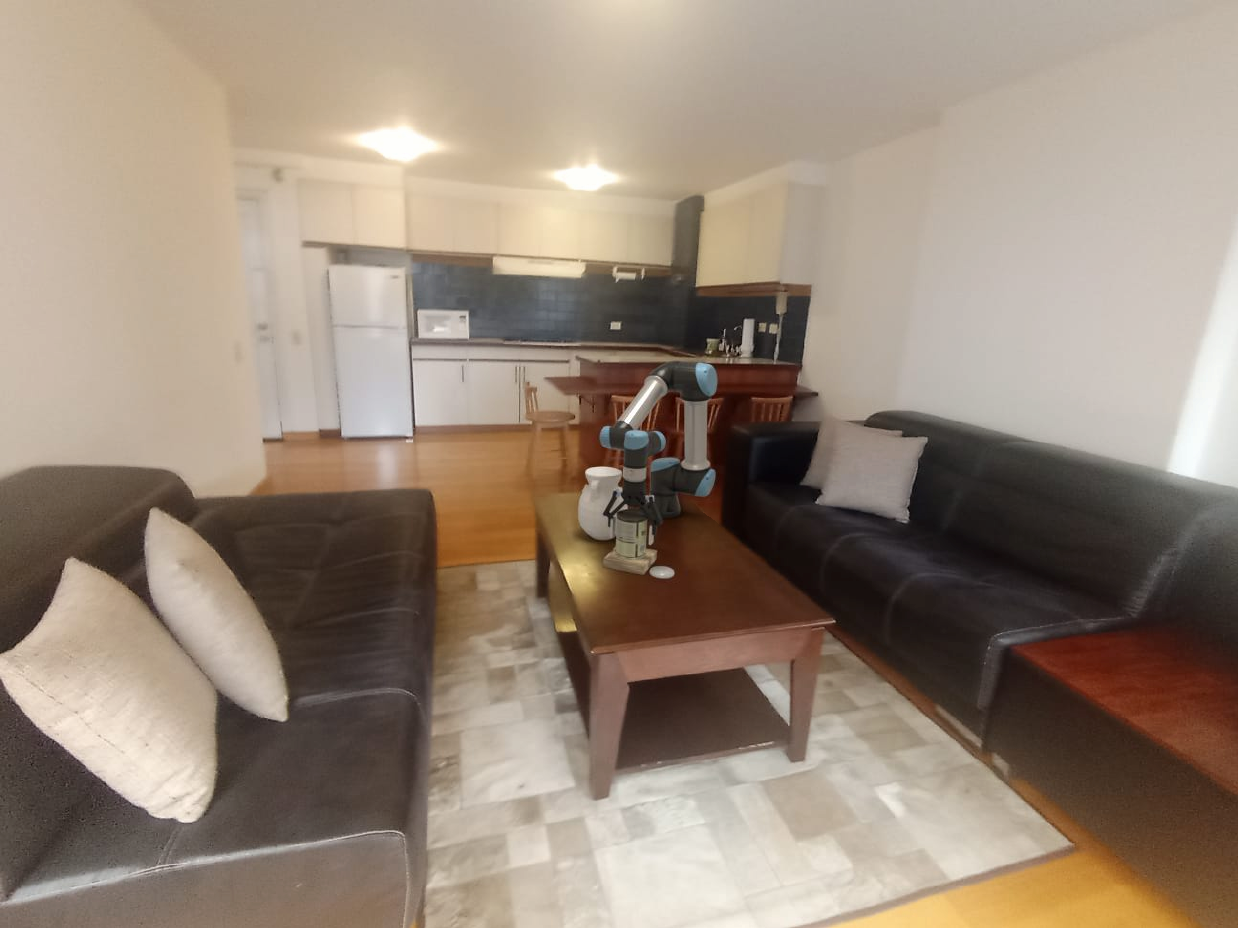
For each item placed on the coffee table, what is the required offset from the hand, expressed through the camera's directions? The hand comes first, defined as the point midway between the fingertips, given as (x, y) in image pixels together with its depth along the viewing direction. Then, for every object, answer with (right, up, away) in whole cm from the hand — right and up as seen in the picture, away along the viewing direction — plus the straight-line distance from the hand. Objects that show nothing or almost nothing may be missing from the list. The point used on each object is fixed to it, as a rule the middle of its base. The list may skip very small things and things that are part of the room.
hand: (631, 539), depth 192 cm
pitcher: (-11, -2, +25) cm, 27 cm away
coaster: (+10, -10, -5) cm, 15 cm away
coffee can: (0, -5, +1) cm, 5 cm away
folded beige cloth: (0, -8, +2) cm, 8 cm away
